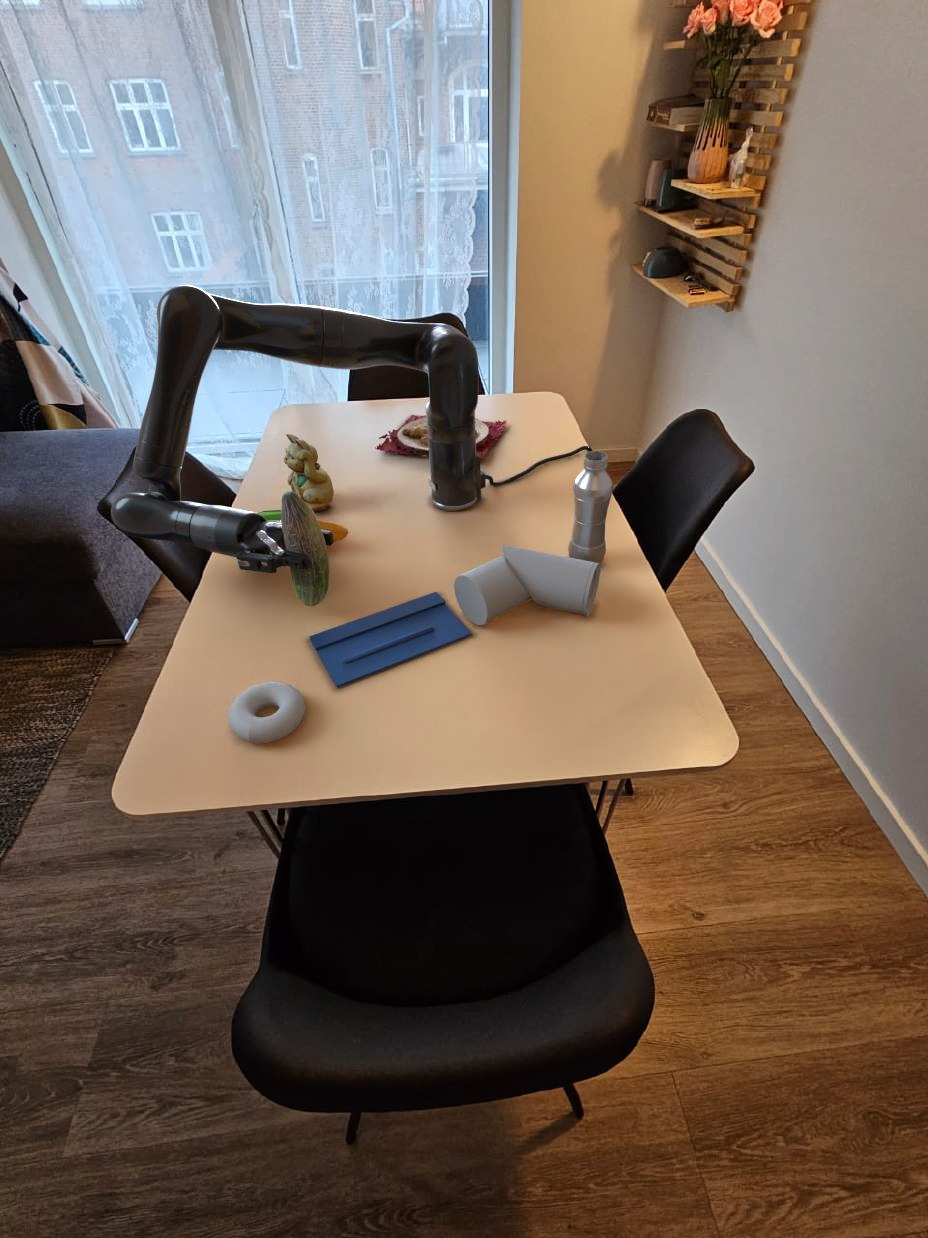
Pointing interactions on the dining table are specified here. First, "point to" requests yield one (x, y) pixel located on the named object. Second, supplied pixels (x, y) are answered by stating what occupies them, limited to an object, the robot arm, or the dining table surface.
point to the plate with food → (416, 437)
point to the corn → (335, 529)
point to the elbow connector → (527, 584)
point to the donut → (270, 726)
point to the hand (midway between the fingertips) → (320, 550)
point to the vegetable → (305, 549)
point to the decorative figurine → (308, 474)
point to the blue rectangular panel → (387, 638)
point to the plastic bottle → (591, 509)
